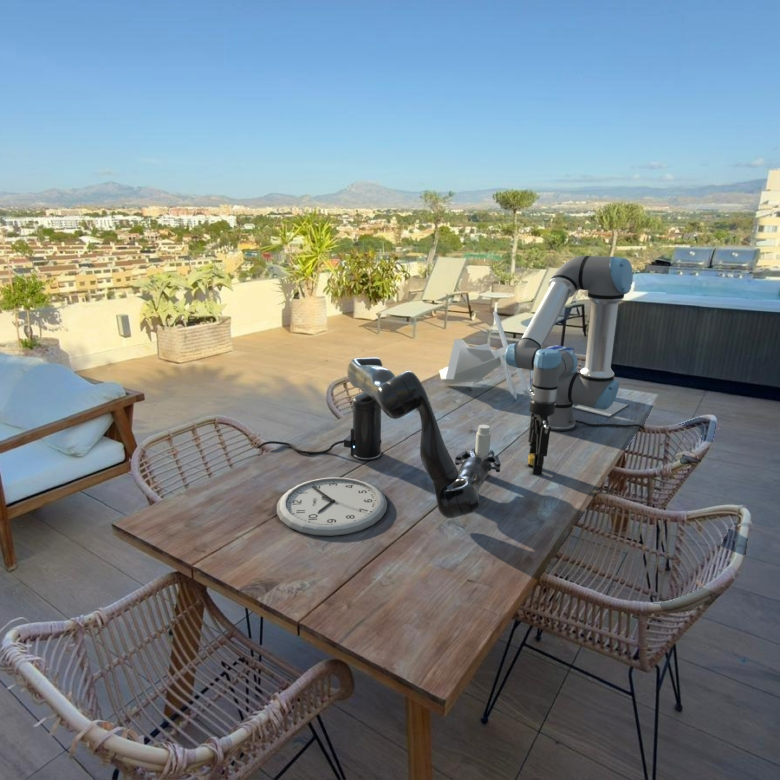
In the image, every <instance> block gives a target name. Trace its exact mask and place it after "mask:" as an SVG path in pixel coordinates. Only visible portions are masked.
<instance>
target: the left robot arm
mask: <svg viewBox="0 0 780 780" xmlns="http://www.w3.org/2000/svg"><path fill="white" fill-rule="evenodd" d="M346 371H347V378H348V381H349V383H350V384H351V386H352V387H354V388H357V389H359V390H361V391H362V392H361V393H359V394H357V395H355V396H354V397H353V399H352V428H350V434H349V435H348V436H347V437H345V438H344V439H343V440H338V441H336V442H333V443H332V444H331V445H330V446H329V448H327V449H325V450H320V451H308V450H302V449H298V448H297V447H296V446H294V445H293V444H291V443H290V442H285V441H277V440H276V441H275V440H269V441H264V442H262V443H260V444H259V445H258V446H256V449H260V448H262V447H263V446H266V445H272V444H274V445H282V446H283V445H284V446H289V447H290V448H292V449H293V451H295V452H297V453H299V454H300V453H301V454H305V455H318V454H319V455H320V454H325V453H328V452H331V450H332V449H333V448H334V447H335V446H337V445H339V444H340V445H341V444H343V447H344V448H347V449H350V456H351V457H354V459H357V460H361V461H374V460H376V459H378V458H380V457H381V456H382V412H384V413H385V415H386V416H387V417H388V418H390V419H393V420H397V419H400V418H403V417H405V416H406V415H408V414H410V413H411V412H413V411H416V409H417V408H418V410H417V411H418V414H419V416H420V417H419V418H420V423H421V431H420V446H419V455H420V459H421V463H422V465H423V467H424V469H425V471H426V473H427V475H428V477H429V479H430V480H431V484H432V486H433V491H434V494H435V500H436V504H437V510H438V511H439V513H440V515H442V516H443V517H444V518H446V519H454V518H457V517H461V516H466V515H470V514H473V513H475V512H476V511H477V510H479V508H480V499H479V491H480V489H481V487H482V486H483V484H484V483H485V481H486V478H487V477H488V475H487V473H488V474H489V472H491V470H494V471H495V472H496V473H501V465H502V464H501V461H500V458H499V456H498V455H495V451H494V450H493V449H490V450H489V455H488V456H486V455H485V456H484V457H483V458H479V457H475V448H476V447H474V448H471V450H470V451H469V452H468V450H463V451H462V452H460V453H459V454H457V455H456V456H455V457H454V460H453V458H452V456H451V454H450V452H449V450H448V448H447V446H446V443H445V441H444V439H443V437H442V434H441V431H440V427H439V424H438V421H437V418H436V416H435V413H434V410H433V408H432V405H431V402H430V398H429V396H428V395H427V392H426V389H425V387H424V385H423V383H422V382H421V380H420V379H419V377H418V376H417V375H416V374H415V373H414V372H413V371H411V370H406V371H403V372H402V373H400V374H398V375H397V376H396V375H395V374H394V372H393V371H392V370H390V369H389V368H386V367H385V366H383V361H382V360H381V358H379V357H357V358H353V359H351V360H350V361H349V363H348V365H347V370H346ZM428 398H429V399H428ZM492 463H493V464H492ZM459 465H461V466H460V468H459V469H458V468H457V466H459ZM486 476H487V477H486ZM449 486H451V489H449V488H448V487H449Z"/></svg>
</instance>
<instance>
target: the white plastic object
mask: <svg viewBox="0 0 780 780" xmlns="http://www.w3.org/2000/svg"><path fill="white" fill-rule="evenodd" d="M492 315H493V319H494V321H495V324H496V325H495V326H496V328H497V332H498V335H499V338H500V342H501V345H502V347H500V348H498V349H496V350H495V349H493V348H492V347H491V346H490V344H489V343H488V342H487V343H483V344H479V345H473V346H469V345H468V343H466V342H465V340H464V339H463V338H460V339H458V338H454V340H453V344H452V349H451V353H450V357H449V362H448V366H446V367H444V368H442V369H440V370H439V371H438V372H439V376H440V381H442V383H443V384H444V385H445V386H449V385H458V384H467V383H468V384H469V383H473V384H477V383H480V382H482V381H484V378H485V377H486V376H487V375H489V374H490V373H492V372H494V371H495V370H496V369H497V368H499V367H500V366H502V370H503V373H504V376H505V380H506V383H507V386H508V390H509V393H510V394H511V395H512V397H513V398H514V399H515V400H517V392H516V391H517V390H516V388H515V385H514V381H513V378H512V375H511V371H510V369H509V365H508V364H507V363H506V361H505V352H506V349H507V347H508V346H509V345H510V344H508V341H507V337H506V334H505V331H504V328H503V325H502V321H501V318H500V315H499V314H498V312H497V311H496V310H495V311H492ZM515 369H516V372H517V376H518V380H519V382H520V385H521V389H522V391H523V393H524V395H525V396H526V397H528V396H531V393H530V389H529V388H528V387H529V386H528V384H527V381H526V378H525V375H524V371H523V368H517V367H515Z"/></svg>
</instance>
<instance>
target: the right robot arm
mask: <svg viewBox="0 0 780 780" xmlns="http://www.w3.org/2000/svg"><path fill="white" fill-rule="evenodd" d="M633 273H634V271H633V266H632V263H631V262H630V260H629V259H627V258H626V257H618V256H607V255H605V256H602V255H579V256H576V257H573V258H571V259H569V260H568V261H566V262H565V263H564V264H562V265H561V266H560V267H559V268H557V270H556V271H555V272H554V273H553V274H552V276H551V277H550V280H549V282H548V289H547V291H546V292H545V294H544V296H543V299H542V300H541V302H540V304H539V305H538V308H537V309H536V311H535V312H534V314H533V316H532V318H531V320H530V322H529V323H528V326H527V328H526V329H525V331H524V333H523V335H522V336H521V338H520V340H519V342H518V343H510V344H508V345H509V346H508V347H507V349H506V352H505V361H506V363H507V365H508V366H510V367H513V368H516V367H517V368H522V370H529V371H531V370H534V371H533V382H532V389H530V388H529V393H530V398H531V399H530V400H529V405H528V406H529V408H528V411H529V413H530V423H529V432H528V441H527V442H528V443H529V453H528V455H529V454H531V453H534V464H533V465H530V464H529V463H528V462H527V466H528V467H529V468H532V472H531V473H532V475H542V474H543V467H544V464H543V460H544V461H545V457H547V456H548V450H549V441H550V435H551V432H552V431H556V432H567V431H572V430H574V429H575V428H576V423H577V424H580V425H585V426H589V427H622V428H633V427H638V428H640V429H641V430H645V431H646V428H645V427H644V426H643V425H641V424H638V423H633V424H632V423H630V424H623V423H621V424H620V423H589V422H585V421H583V420H582V421H581V420H578V419H576V418H575V417H576V416H575V413H574V407H573V405H574V404H575V405H583V406H587V407H592V408H594V409H602V410H606V409H608V408H609V407H610V406H611V405H612V403H613V402H615V400H616V398H617V395H618V392H619V389H620V381H619V380H618V379H616V378H615V372H614V371H613V370H612V369H611V367H612V360H613V359H612V358H613V349H614V342H615V334H616V326H617V318H618V317H617V316H618V309H619V303H620V302H621V301H622V300H624V299H625V295H627V294H629V293H630V291H631V289H632V285H633V282H634V281H633V280H634V279H633V277H634V274H633ZM579 290H580V291H581V290H582V291H587V298H588V299H589V300H590V303H591V304H590V314H589V324H588V334H587V335H588V336H587V343H586V355H585V362H584V367H583V368H581V369H580V371H579V372H578V368H577V367H578V363H579V361H578V357H577V355H576V354H575V352H574V353H573V352H571V351H569V350H562V351H557V350H553V349H544V348H543V347H544V345H545V343H546V342H547V340H548V337H550V334H551V332H552V330H553V328H554V327H555V325H556V323H557V321H558V319H559V317H560V315H561V313H562V311H563V310H564V308H565V306H566V304H567V302H568V301H569V299H570V298H572V297H573V296H574V295H575V294H576V292H577V291H579Z"/></svg>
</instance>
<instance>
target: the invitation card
mask: <svg viewBox="0 0 780 780" xmlns="http://www.w3.org/2000/svg"><path fill="white" fill-rule="evenodd" d="M628 406H629V404H627V403H623V402H618V401H614V402H613V403H612V405H611V406H610V407H609V408H608V409H606V410H602V409H594V408H592V407H587V406H583V405H579V404H577V405H575V406H574V407H573V409H575V410H581V411H584V412H587V413H593V414H596V415H600V416H604V417H608V418H609V417H611V416H613V415H614V414H616V413H617V412H619V411H621V410H623V409H624V408H626V407H628Z"/></svg>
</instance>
